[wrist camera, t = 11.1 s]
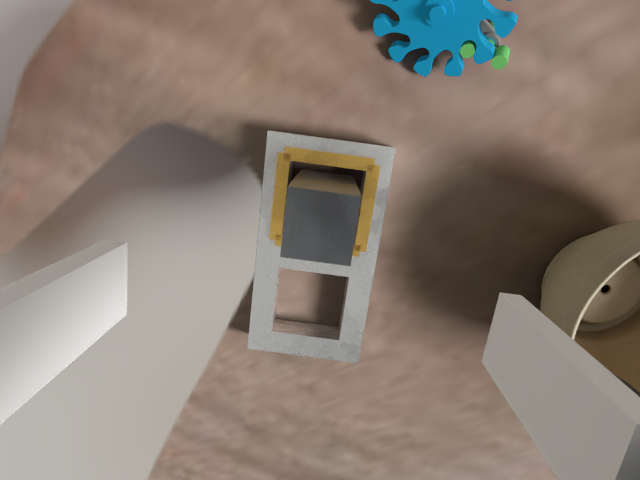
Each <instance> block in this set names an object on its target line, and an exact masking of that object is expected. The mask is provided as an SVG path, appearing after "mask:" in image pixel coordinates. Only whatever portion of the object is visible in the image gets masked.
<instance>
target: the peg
mask: <svg viewBox="0 0 640 480" xmlns="http://www.w3.org/2000/svg"><path fill="white" fill-rule="evenodd" d="M361 198H362V196H361V193H360V191H359V189H358V186H357V184H356V181H355V179H354V177H353V176H352V175H344V174H337V173H329V172H322V171H314V170H307V169H301V171H300V172H299V173H298V174H297V176H296V177H295V178H294V179H293V180H292V182H291V183H290V184H289V185H288V188H287V197H286V206H285V216H284V225H283V234H282V243H281V253H280V257H284V258H291V259H299V260H306V261H314V262H321V263H329V264H336V265H344V266H351V261H352V255H353V248H354V242H355V236H356V229H357V223H358V217H359V210H360V204H361Z"/></svg>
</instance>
